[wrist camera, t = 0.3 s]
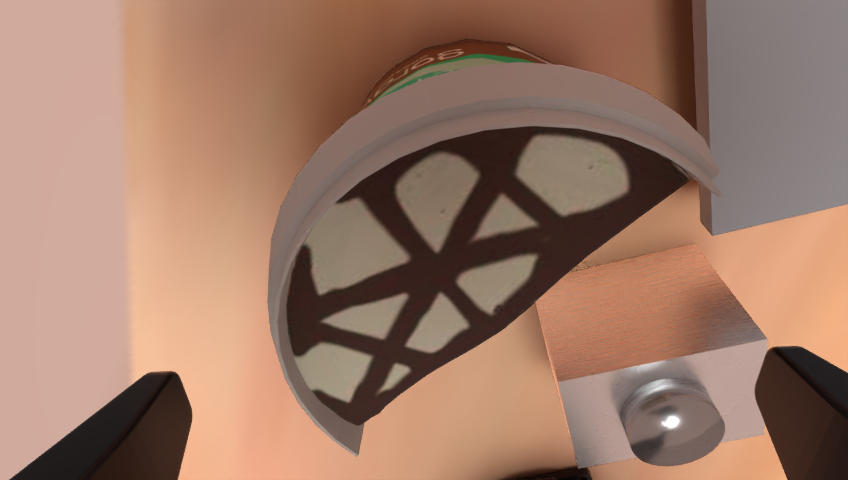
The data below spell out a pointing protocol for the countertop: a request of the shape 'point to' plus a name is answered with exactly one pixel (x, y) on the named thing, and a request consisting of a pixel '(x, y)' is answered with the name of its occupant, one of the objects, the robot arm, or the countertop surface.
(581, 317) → the housing
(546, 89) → the food container
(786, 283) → the countertop surface
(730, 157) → the stand
